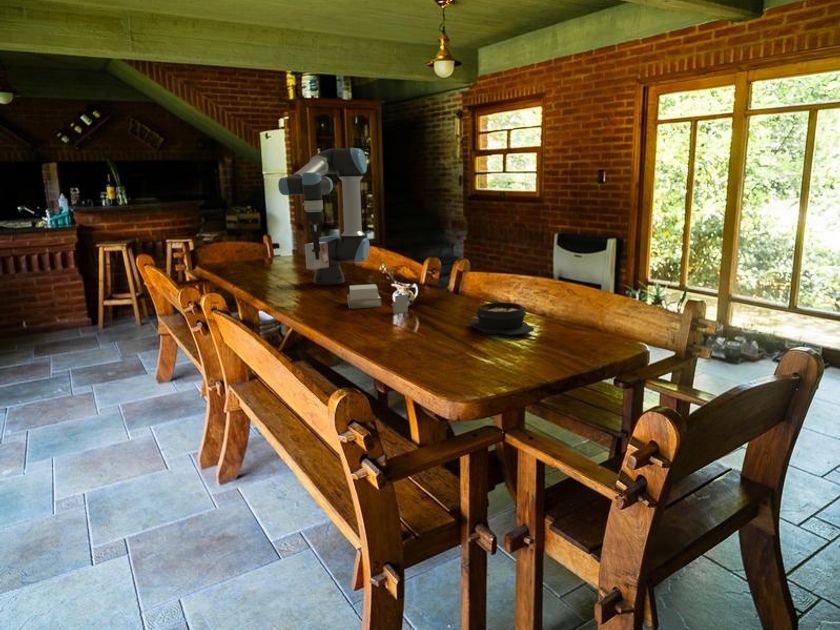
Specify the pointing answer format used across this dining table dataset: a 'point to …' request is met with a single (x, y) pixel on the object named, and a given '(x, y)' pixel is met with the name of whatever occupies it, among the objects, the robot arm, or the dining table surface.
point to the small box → (310, 255)
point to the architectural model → (400, 304)
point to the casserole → (501, 319)
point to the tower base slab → (363, 302)
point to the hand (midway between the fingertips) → (317, 265)
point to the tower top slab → (363, 291)
